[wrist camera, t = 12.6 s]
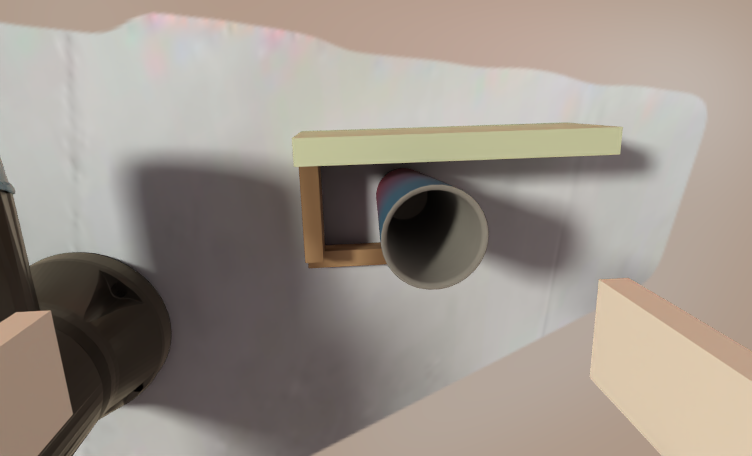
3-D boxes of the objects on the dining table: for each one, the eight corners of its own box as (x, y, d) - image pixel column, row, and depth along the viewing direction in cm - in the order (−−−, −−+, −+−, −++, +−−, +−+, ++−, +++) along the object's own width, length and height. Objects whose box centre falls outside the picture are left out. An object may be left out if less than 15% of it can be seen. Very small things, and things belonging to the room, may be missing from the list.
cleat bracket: (309, 261, 45) (306, 279, 40) (302, 154, 43) (298, 160, 38) (446, 254, 46) (458, 271, 41) (446, 149, 44) (460, 154, 39)
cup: (447, 217, 45) (500, 270, 31) (379, 240, 45) (398, 303, 31) (428, 148, 43) (474, 169, 29) (356, 171, 43) (366, 204, 29)
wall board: (302, 154, 43) (293, 166, 34) (301, 131, 42) (291, 138, 34) (564, 144, 44) (620, 154, 36) (566, 122, 44) (622, 127, 35)
